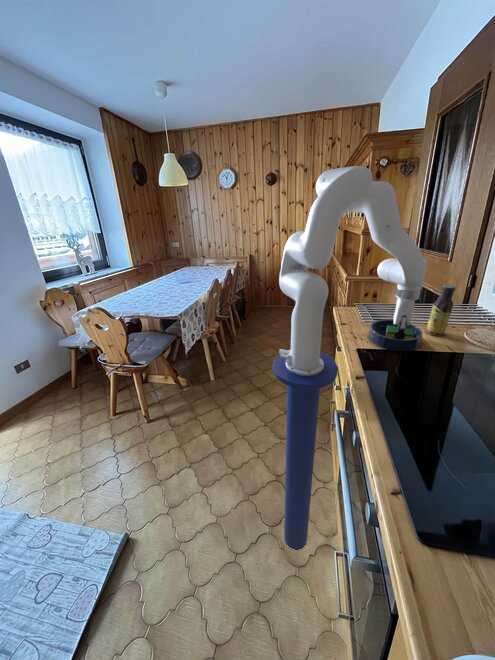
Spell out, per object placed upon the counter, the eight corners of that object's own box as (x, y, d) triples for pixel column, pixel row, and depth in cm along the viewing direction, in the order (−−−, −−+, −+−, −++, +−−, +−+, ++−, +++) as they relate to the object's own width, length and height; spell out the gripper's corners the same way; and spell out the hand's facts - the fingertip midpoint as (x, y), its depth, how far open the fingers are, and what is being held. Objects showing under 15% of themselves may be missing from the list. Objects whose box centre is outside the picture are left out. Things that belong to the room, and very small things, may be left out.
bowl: (366, 347, 105) (368, 335, 103) (370, 327, 120) (371, 317, 117) (420, 356, 98) (424, 343, 96) (417, 334, 113) (420, 323, 110)
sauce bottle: (423, 329, 116) (435, 282, 107) (440, 330, 115) (454, 282, 106) (429, 336, 110) (442, 288, 102) (446, 337, 109) (462, 288, 100)
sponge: (385, 340, 107) (386, 331, 106) (385, 334, 112) (387, 325, 110) (411, 344, 104) (414, 335, 102) (411, 337, 109) (413, 328, 107)
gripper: (395, 284, 108) (387, 327, 116) (396, 300, 94) (387, 346, 102) (418, 286, 105) (408, 329, 113) (422, 302, 91) (410, 350, 99)
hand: (398, 337), depth 108 cm, fingers closed on sponge, 6 cm apart
